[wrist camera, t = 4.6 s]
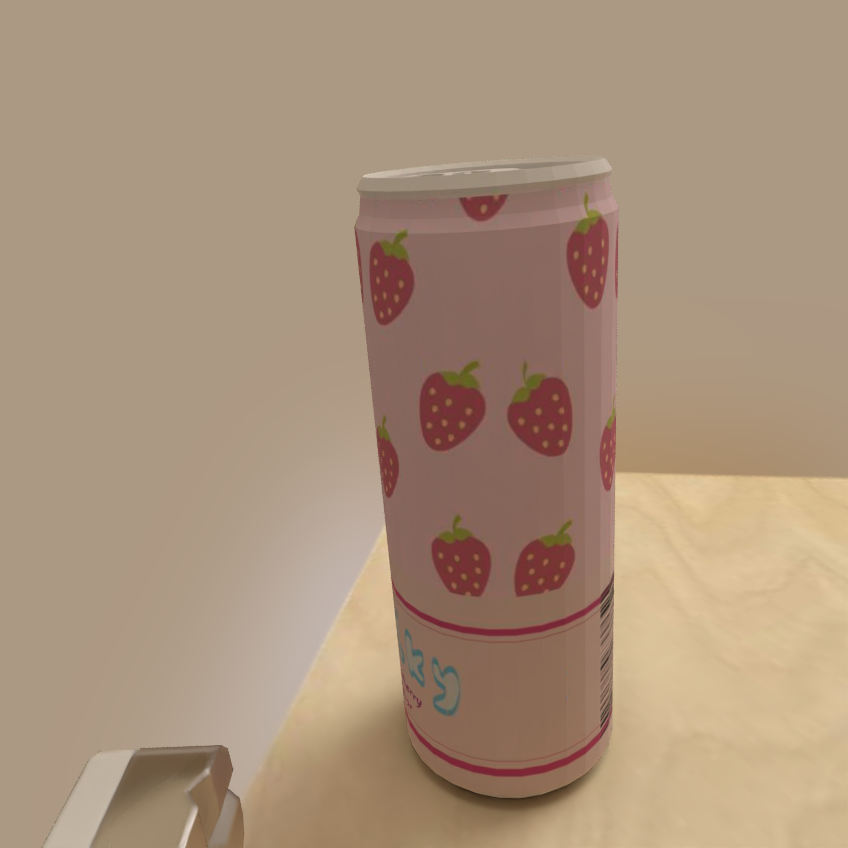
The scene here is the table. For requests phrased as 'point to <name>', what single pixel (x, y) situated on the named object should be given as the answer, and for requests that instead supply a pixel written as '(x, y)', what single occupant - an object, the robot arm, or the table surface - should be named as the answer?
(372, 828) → the table surface
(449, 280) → the beverage can
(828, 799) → the table surface
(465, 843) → the table surface
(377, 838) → the table surface
